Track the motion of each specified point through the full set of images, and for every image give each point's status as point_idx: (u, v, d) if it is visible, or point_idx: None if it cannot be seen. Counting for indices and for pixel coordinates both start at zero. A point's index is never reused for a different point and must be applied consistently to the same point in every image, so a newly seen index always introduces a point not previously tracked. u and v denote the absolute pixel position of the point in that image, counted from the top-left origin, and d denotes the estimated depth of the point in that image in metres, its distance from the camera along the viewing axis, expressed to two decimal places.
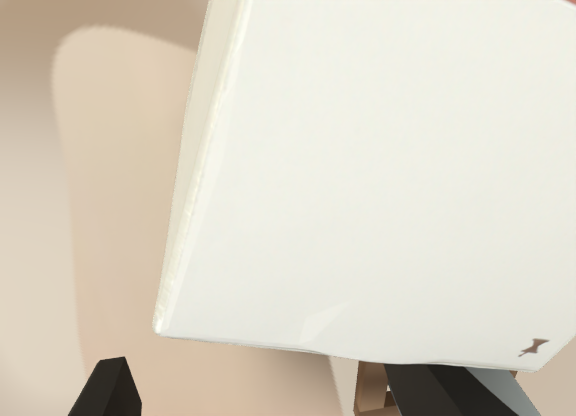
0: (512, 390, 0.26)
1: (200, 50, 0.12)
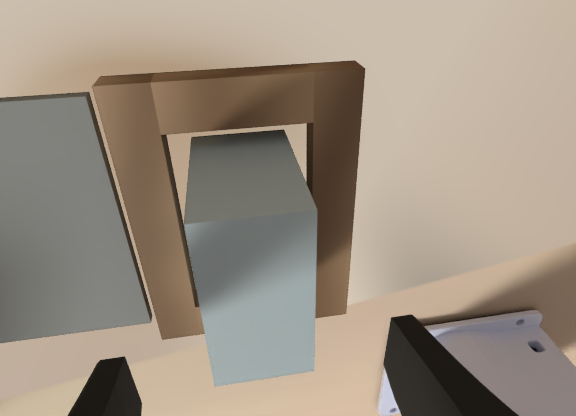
0: None
1: None
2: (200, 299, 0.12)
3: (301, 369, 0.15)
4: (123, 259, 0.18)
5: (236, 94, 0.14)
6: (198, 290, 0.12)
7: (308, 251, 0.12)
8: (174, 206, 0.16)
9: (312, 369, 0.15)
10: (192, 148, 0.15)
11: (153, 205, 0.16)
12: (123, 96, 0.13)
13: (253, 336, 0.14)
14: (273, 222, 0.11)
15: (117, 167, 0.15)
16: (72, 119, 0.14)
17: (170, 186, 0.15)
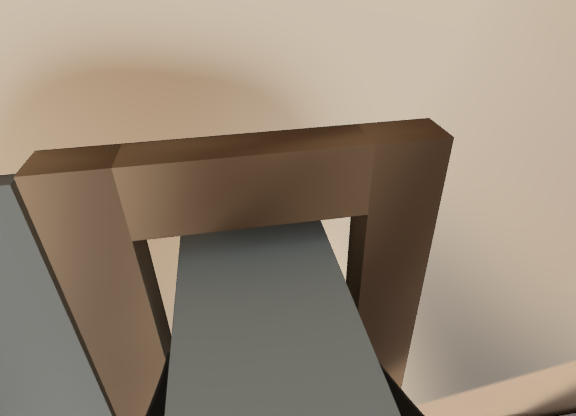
0: None
1: None
2: None
3: None
4: (87, 388, 0.12)
5: (250, 181, 0.09)
6: None
7: None
8: (156, 331, 0.11)
9: None
10: (181, 256, 0.10)
11: (124, 332, 0.10)
12: (67, 189, 0.08)
13: None
14: None
15: (65, 287, 0.09)
16: None
17: (149, 306, 0.10)
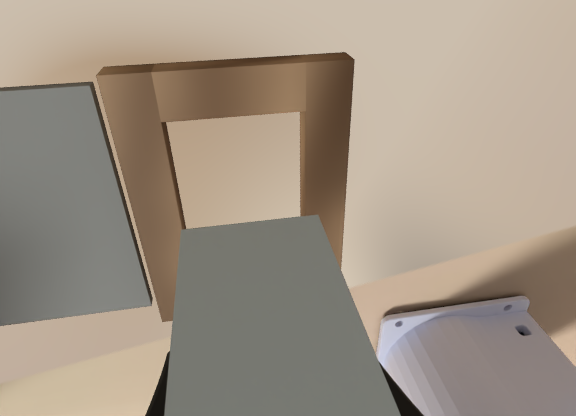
0: None
1: None
2: None
3: None
4: (125, 243, 0.18)
5: (232, 84, 0.15)
6: None
7: None
8: (174, 191, 0.17)
9: None
10: (181, 256, 0.10)
11: (154, 190, 0.17)
12: (125, 85, 0.14)
13: None
14: None
15: (119, 153, 0.15)
16: (76, 108, 0.15)
17: (170, 172, 0.16)
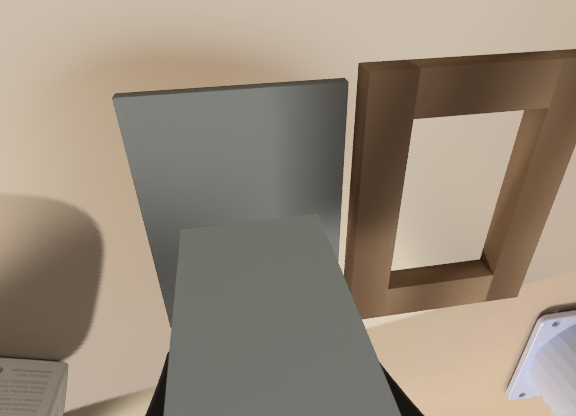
0: None
1: None
2: None
3: None
4: (331, 241, 0.18)
5: (490, 80, 0.15)
6: None
7: None
8: (401, 189, 0.17)
9: None
10: (181, 256, 0.10)
11: (384, 188, 0.16)
12: (393, 81, 0.14)
13: None
14: None
15: (365, 150, 0.15)
16: (329, 104, 0.15)
17: (404, 169, 0.16)
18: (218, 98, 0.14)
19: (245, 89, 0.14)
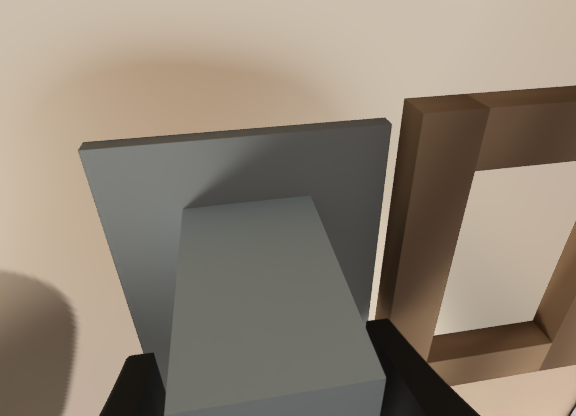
0: None
1: None
2: None
3: None
4: (359, 310, 0.15)
5: None
6: None
7: None
8: (452, 253, 0.13)
9: None
10: (183, 231, 0.10)
11: (431, 253, 0.13)
12: (453, 125, 0.11)
13: None
14: (313, 398, 0.07)
15: (410, 210, 0.12)
16: (366, 152, 0.11)
17: (458, 230, 0.13)
18: (221, 148, 0.11)
19: (256, 136, 0.11)
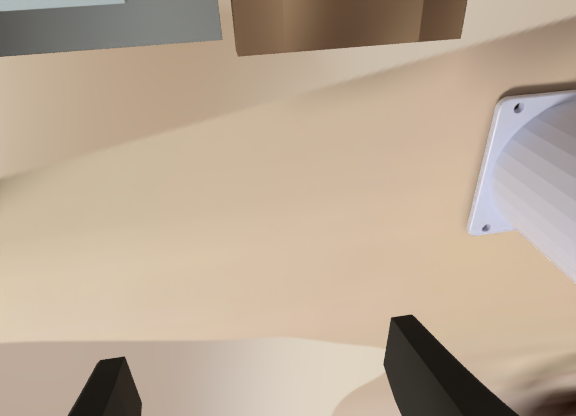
0: None
1: None
2: None
3: None
4: None
5: None
6: None
7: None
8: None
9: None
10: None
11: None
12: None
13: None
14: None
15: None
16: None
17: None
18: None
19: None
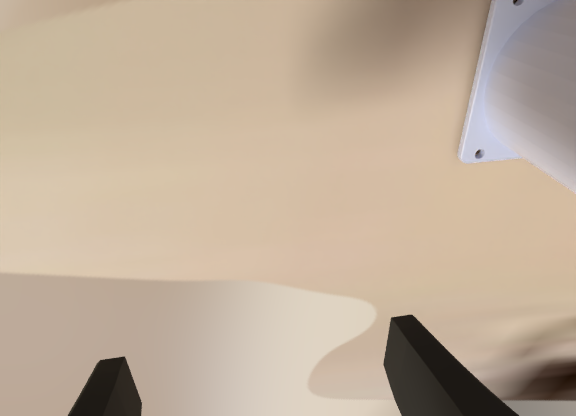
0: None
1: None
2: None
3: None
4: None
5: None
6: None
7: None
8: None
9: None
10: None
11: None
12: None
13: None
14: None
15: None
16: None
17: None
18: None
19: None
